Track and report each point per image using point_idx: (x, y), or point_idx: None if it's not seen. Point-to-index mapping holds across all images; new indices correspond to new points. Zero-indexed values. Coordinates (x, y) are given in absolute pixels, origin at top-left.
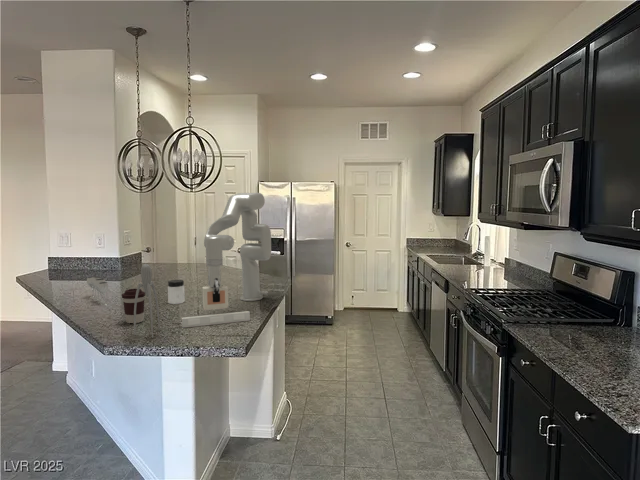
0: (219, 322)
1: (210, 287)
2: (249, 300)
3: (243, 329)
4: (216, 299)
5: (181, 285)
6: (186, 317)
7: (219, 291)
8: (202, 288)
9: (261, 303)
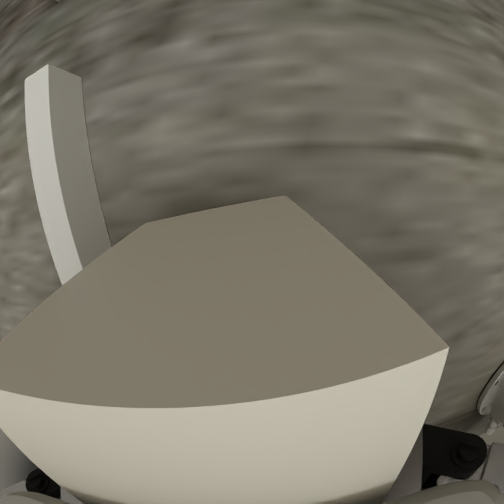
0: None
1: (18, 492)
2: (488, 385)
3: None
4: None
5: None
6: (44, 95)
7: None
8: (398, 303)
9: (437, 426)
